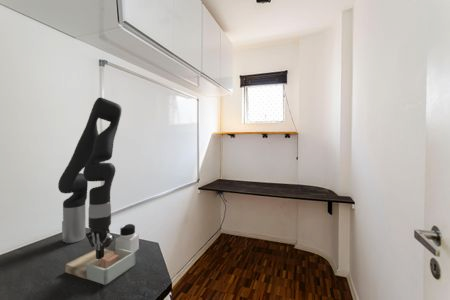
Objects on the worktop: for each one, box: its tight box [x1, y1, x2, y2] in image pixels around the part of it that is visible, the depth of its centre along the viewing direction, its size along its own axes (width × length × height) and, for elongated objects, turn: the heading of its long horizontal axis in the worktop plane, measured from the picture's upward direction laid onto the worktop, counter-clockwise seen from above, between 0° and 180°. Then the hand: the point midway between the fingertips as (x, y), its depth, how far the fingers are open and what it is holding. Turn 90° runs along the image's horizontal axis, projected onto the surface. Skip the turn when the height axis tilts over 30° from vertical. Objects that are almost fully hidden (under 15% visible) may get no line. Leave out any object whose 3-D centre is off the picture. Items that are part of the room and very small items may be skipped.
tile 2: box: [105, 255, 119, 269], centre depth 80 cm, size 4×4×2 cm
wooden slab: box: [64, 248, 116, 280], centre depth 83 cm, size 11×14×3 cm
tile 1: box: [101, 253, 115, 268], centre depth 81 cm, size 4×4×2 cm
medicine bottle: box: [115, 223, 140, 253], centre depth 94 cm, size 7×7×12 cm
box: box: [85, 248, 136, 286], centre depth 80 cm, size 9×14×5 cm
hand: (100, 258), depth 82 cm, fingers closed
